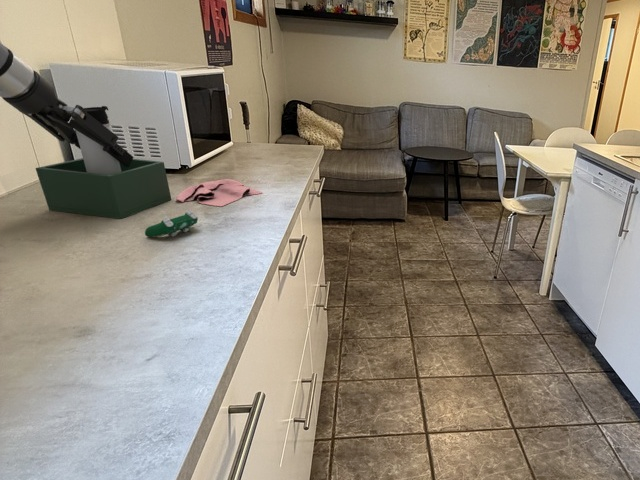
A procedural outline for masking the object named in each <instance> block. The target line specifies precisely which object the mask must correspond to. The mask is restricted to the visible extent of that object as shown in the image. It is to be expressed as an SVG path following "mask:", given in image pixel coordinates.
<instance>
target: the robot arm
mask: <svg viewBox="0 0 640 480" xmlns="http://www.w3.org/2000/svg"><path fill="white" fill-rule="evenodd" d="M55 92H56V91H55V88H54V86H53V84H51V82H49V81H48V80H47V79H46V78H44V77H43V76H42V75H41V74H39V72H37V71H36V70H34V69H33V67H31V66H30V65H29V64H28V63H27V62H25V60H23V59H22V58H21V57H20V56H19V55H17V54H16V53H15V52H13V50H11V49H10V48H8V47H6V46H5V45H4V44H3V43H2V42H0V97H1V98H2V100H3V101H5V102H6V103H7V104H9V105H10V106H11V107H13V108H14V109H15V110H17V111H18V112H20V113H21V114H23V115H24V116H26V117H28V118H29V119H31V120H32V121H34V123H36V124H38V126H40V128H42V129H44V130H45V131H46V132H48V133H49V134H50V135H52V136H53V137H54V138H56V139H57V140H58V141H60V142H63V143H64V142H67V143H68V144H70V145H74V146H75V147H77V148H78V149H79V150H81V149H80V145H79V142H78V138H77V134H76V131H75V130H77V131H78V132H80V133H82V134H83V135H85V136H87V137H88V138H90V139H92V140H93V141H95V142H96V143H98V144H100V145H101V146H103V151H106V152H107V153H109V154H110V155H111V156H113V157H114V158H115V159H116V160H118V161H119V162H120V163H122V164H123V165H124V166H125V167H129V166H130V164H131V162H132V160H133V159H135V157H134V156H133V155H132V154H130V153H129V152H128V151H127V150H126V149H124V148H123V146H121V145H120V144H118V143H117V142H118V140H119V136H118V135H117V134H115V133H114V132H113V131H112V130H111V131H112V132H111V131H110V130H109V129H107V128H106V127H105V126H104V125H102V124H101V123H100V122H98V121H97V120H96V119H95V118H93V117H92V116H91V115H89V114H88V113H87V112H86V111H85V109H84V108H85V107H83V106H82V105H79V104H76V105H75V106H74V107H73V106H69V105H68V104H67V103H66V102H65V101H63V100H62V99H59V98H58V97H57V95H56V93H55Z"/></svg>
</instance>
